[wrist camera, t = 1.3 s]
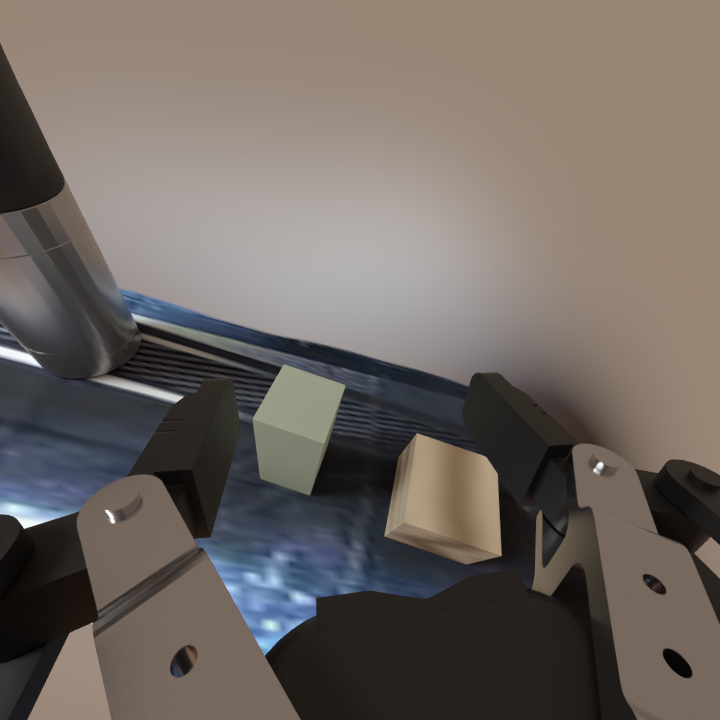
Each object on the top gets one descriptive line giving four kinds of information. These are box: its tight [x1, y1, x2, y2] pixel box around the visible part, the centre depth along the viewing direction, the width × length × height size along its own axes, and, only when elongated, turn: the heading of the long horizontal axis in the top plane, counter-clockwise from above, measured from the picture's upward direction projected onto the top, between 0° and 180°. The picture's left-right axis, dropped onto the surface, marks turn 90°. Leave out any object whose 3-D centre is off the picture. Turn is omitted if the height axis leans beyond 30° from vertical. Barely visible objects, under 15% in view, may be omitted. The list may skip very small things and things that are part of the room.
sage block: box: [253, 364, 346, 496], centre depth 26 cm, size 5×5×12 cm
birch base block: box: [385, 433, 502, 565], centre depth 29 cm, size 8×8×6 cm
